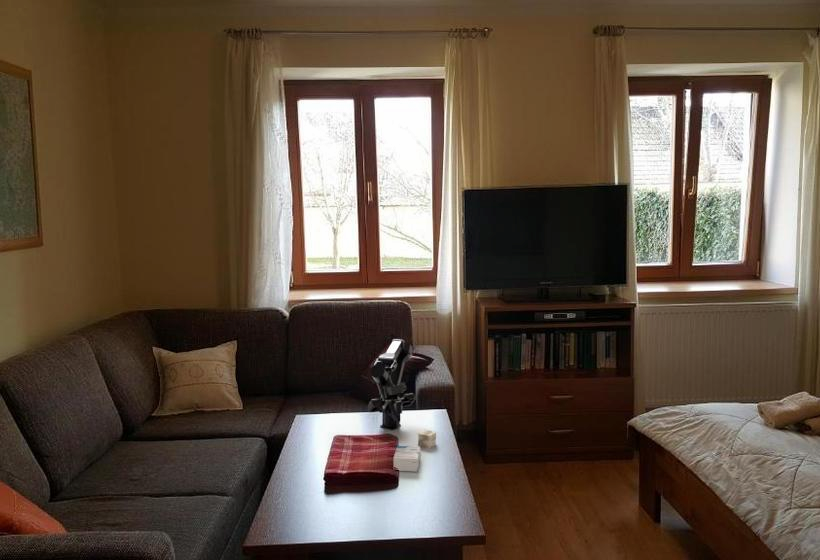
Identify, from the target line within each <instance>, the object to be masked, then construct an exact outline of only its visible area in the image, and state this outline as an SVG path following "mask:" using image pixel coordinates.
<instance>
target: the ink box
mask: <svg viewBox="0 0 820 560" xmlns="http://www.w3.org/2000/svg"><path fill="white" fill-rule="evenodd" d="M421 449H422V447H421V446H418V445H416V446H415V445H412V446H410V445H397V446H396V448H395V452H394V456H393V459H392V460H393V461H392V462H393V463H392V465H393V466H392V467H393V468H394V467H396V468H398V470H399V471H398V472H412V473H413V472H416V473H418V471H419V465H420V462H421V461H420V460H421V452H422V451H421Z"/></svg>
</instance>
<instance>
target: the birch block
mask: <svg viewBox="0 0 820 560" xmlns="http://www.w3.org/2000/svg"><path fill="white" fill-rule="evenodd" d="M417 434H418V436H417V438H418V439H417V447H421V446H422V447H421V448H425V447H426V449H429V448H430V449H431V448H433V447H434V446H436V445H437V432H436V431H432V430H428V429H424V430H422V431H420V432H419V433H417ZM435 444H436V445H435ZM432 446H433V447H432Z"/></svg>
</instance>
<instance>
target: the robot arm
mask: <svg viewBox="0 0 820 560" xmlns="http://www.w3.org/2000/svg"><path fill="white" fill-rule="evenodd" d="M412 355H413V347H412V345H411V344H410V343H408V342H407V341H405V340H404V339H403V338H401V339H400V338H393V339H391V344H390V345H389V347H388V349H387V350H386V352H384V353H382V354H380V355H379V356H378V358H376V360H375V362H374V364H373V365H372V366H371V368H370V371H369V373H370V375H371V377H372V378H373V380H374V382H376V386H377V388H378V390H379V392H378V395H379V396H380V397H379V398H372V399H370V401H369V403H368V405H367V406H366V407H367V411H368V412H369V413H374V412H376V411H377V410H379V413H381V414H382V418H381V419H382V421H381V422H382V423H381V425H380V428H383V429H388V430H391V431H392V430H396V429H398V428H399V427H401V426H402V425H401V414H403V407H409V406H411V405H412V404H413V403H414V402H415V400H416V399H417V397H416V395H415V394H414V393H413V392H410V393H404V392H405V391H407V385H406V383H405V382H401V380H402V377H403V372H404V369H405V365H406V364H407V363H408V361H410V357H411V356H412ZM389 372H390V374H389ZM401 394H403V395H402V397H401Z"/></svg>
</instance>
